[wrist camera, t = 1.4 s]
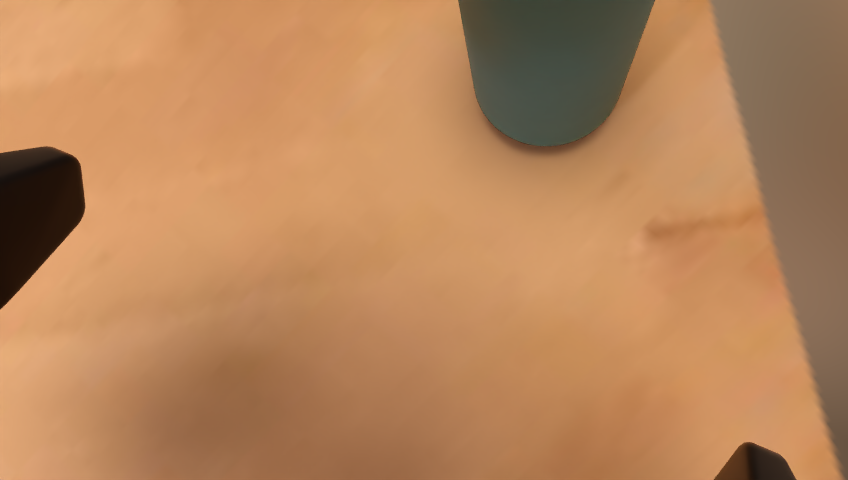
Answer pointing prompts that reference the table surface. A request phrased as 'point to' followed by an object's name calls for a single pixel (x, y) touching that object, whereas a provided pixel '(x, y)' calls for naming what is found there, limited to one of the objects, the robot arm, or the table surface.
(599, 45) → the dauber
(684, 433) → the table surface
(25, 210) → the robot arm
